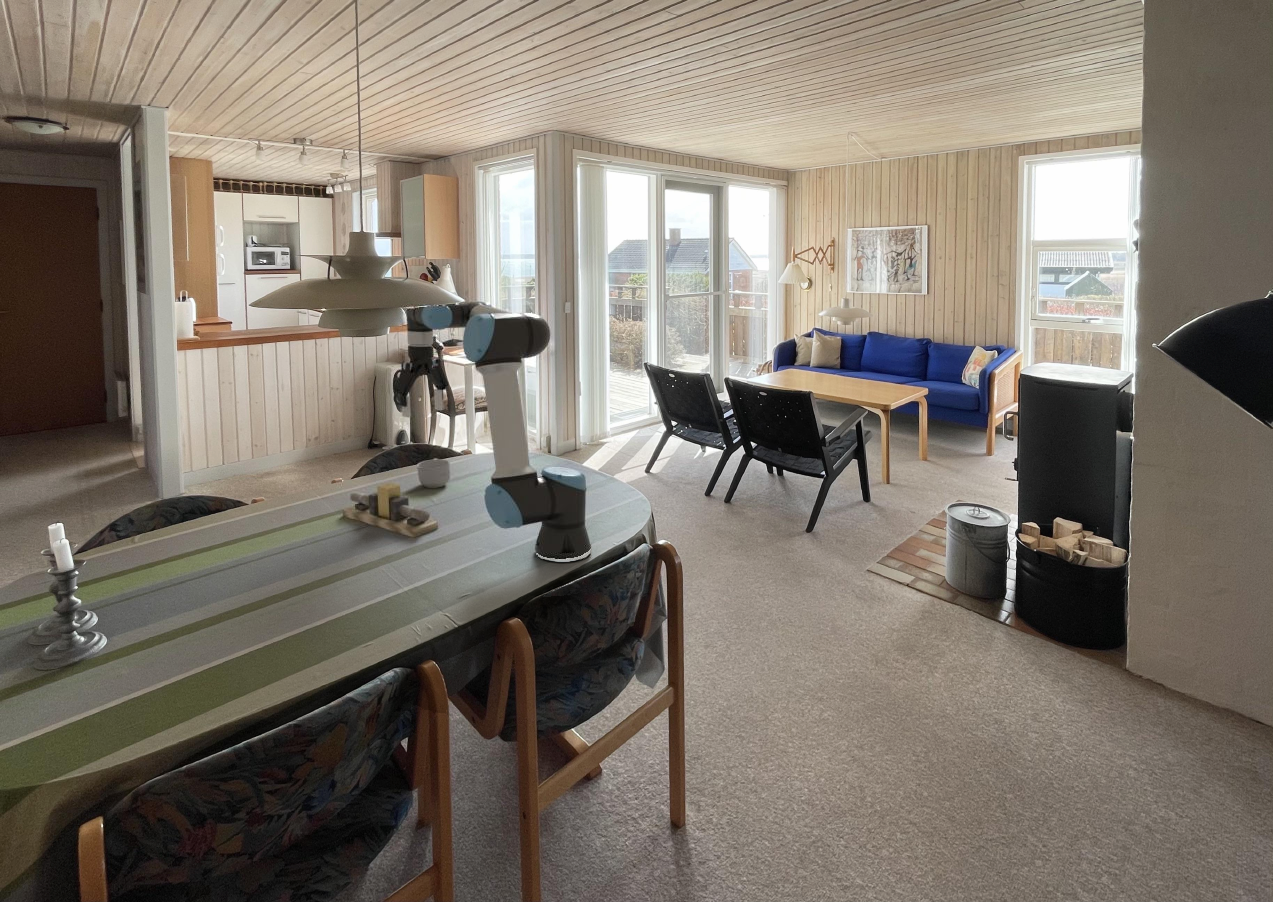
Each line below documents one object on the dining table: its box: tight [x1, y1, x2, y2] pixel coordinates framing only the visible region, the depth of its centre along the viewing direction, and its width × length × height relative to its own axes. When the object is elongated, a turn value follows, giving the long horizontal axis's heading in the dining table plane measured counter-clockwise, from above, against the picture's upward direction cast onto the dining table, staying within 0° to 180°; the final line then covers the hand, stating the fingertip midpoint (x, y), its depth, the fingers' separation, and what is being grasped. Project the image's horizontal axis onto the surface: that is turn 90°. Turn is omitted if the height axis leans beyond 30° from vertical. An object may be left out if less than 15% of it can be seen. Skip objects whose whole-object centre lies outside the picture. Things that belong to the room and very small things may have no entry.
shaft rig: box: [342, 491, 439, 538], centre depth 220 cm, size 30×9×8 cm, turn 59°
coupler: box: [376, 482, 402, 519], centre depth 220 cm, size 5×4×9 cm
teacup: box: [416, 458, 451, 489], centre depth 258 cm, size 14×11×8 cm
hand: (422, 413), depth 235 cm, fingers open, 13 cm apart
